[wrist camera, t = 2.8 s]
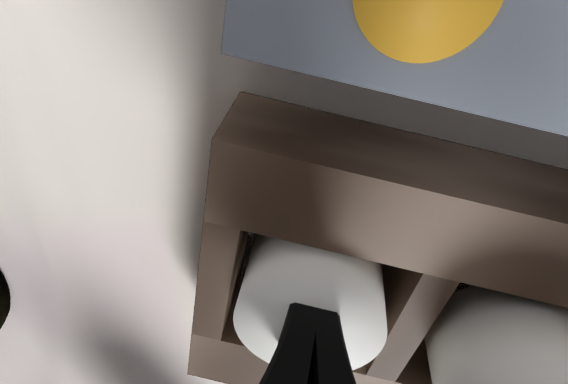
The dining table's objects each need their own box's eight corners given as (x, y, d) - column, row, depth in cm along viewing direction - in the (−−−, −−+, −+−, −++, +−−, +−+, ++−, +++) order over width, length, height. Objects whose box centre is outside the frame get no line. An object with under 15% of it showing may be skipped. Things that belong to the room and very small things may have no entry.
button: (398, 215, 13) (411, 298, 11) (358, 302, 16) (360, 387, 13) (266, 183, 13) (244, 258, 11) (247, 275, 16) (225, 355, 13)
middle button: (606, 301, 12) (685, 424, 9) (525, 381, 15) (568, 497, 12) (458, 266, 12) (492, 378, 9) (403, 352, 15) (416, 461, 12)
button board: (876, 244, 12) (1011, 330, 10) (640, 411, 18) (686, 492, 15) (240, 91, 12) (211, 139, 10) (209, 309, 18) (187, 374, 15)
